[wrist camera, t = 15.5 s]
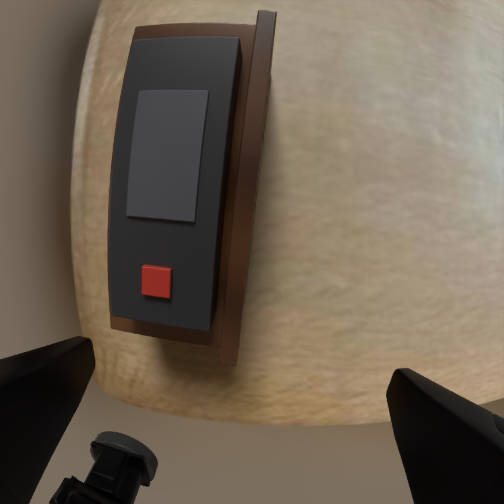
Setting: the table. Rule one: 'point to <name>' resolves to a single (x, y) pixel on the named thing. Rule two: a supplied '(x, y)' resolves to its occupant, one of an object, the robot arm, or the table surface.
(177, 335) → the shelf
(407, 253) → the table surface
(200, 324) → the remote
